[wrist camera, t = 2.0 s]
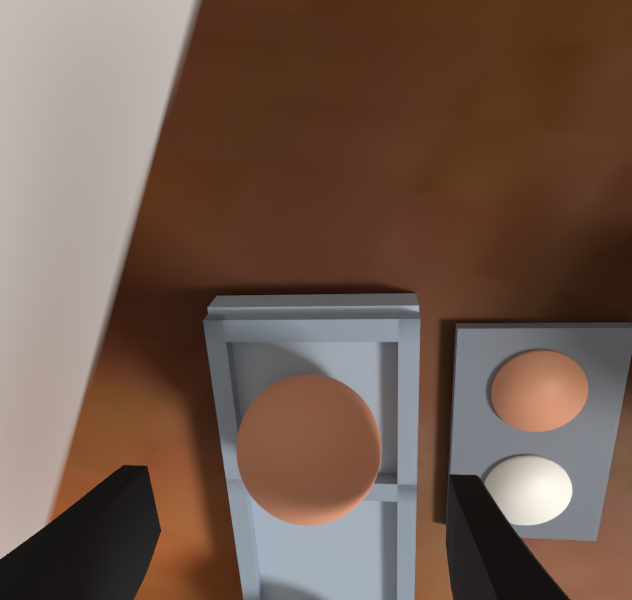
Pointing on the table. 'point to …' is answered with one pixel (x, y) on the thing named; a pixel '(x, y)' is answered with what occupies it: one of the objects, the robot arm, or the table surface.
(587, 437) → the card
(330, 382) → the rust ball
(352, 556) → the board
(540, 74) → the table surface
